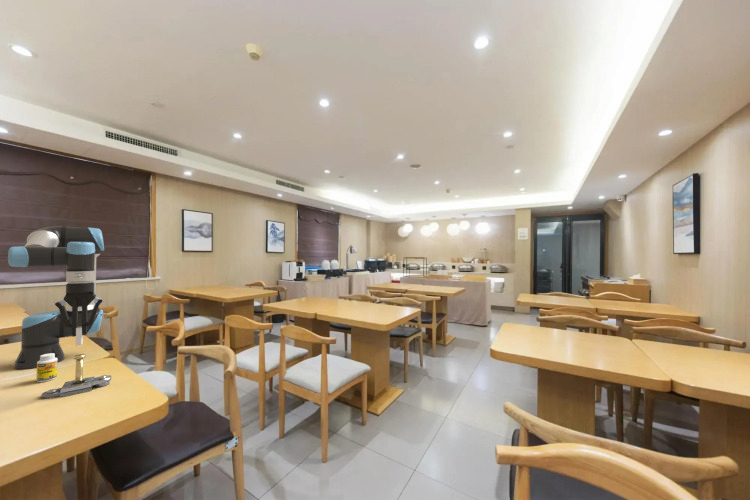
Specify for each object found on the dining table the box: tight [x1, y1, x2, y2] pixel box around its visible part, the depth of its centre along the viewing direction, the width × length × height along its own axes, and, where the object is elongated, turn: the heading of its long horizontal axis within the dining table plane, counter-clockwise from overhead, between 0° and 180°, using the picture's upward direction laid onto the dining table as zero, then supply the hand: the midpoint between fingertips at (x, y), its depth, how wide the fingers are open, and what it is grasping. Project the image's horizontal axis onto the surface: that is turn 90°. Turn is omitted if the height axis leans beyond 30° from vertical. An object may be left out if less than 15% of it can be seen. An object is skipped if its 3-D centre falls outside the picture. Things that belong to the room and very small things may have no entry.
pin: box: [73, 353, 86, 385], centre depth 109 cm, size 3×3×13 cm
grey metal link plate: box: [40, 374, 112, 400], centre depth 109 cm, size 8×18×3 cm, turn 129°
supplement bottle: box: [36, 353, 58, 383], centre depth 117 cm, size 6×6×10 cm
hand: (79, 344), depth 109 cm, fingers closed
